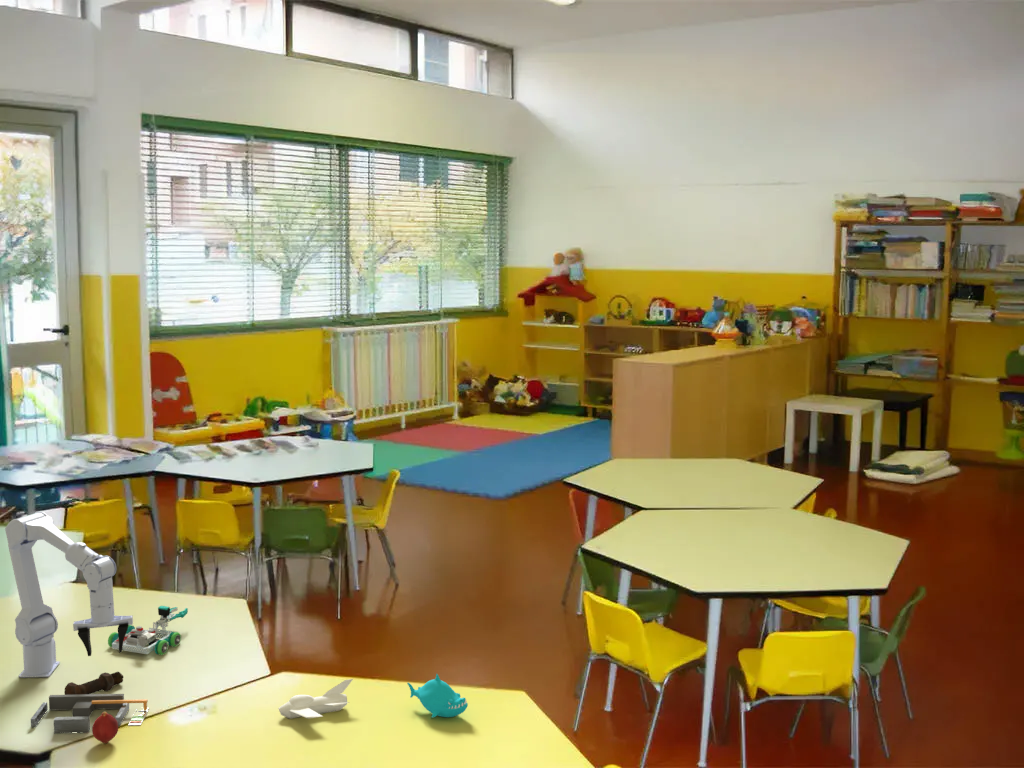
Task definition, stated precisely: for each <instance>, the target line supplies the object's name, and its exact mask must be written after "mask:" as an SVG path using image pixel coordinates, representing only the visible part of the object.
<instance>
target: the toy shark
mask: <svg viewBox="0 0 1024 768" xmlns="http://www.w3.org/2000/svg"><path fill="white" fill-rule="evenodd" d="M407 686H408V688H409V690H410V698H413V697H417V700H419V701H420V704H421V705H422V707H424V708H425V710H426V711H428V712H429V713H430V714H431V718H436V717H437V716H438V717H441V718H453V717H458V716H459V715H461V714H463V713H464V712H465V711H466V710H467V708H468V705H469V704H468V702H467V699H466V697H461V694H460V693H459V692H456V691H455V690H454V689H453V688H452V687H451V686H450V685H449V684H448V683H447V682H446V681H444V680H441V679H440V676H439V674H438V673H436V675H435V678H433V679H430V680H428V681H426V682H425V684H423V685H422V686H417V687H418V688H417V689H415V688H414V687H413V685H412V684H411V683H410V682H407Z"/></svg>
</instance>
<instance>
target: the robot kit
mask: <svg viewBox="0 0 1024 768" xmlns="http://www.w3.org/2000/svg"><path fill="white" fill-rule="evenodd" d="M188 611H189V608H187V607H185V608H184V609H183V610H181V611H178V607H177V606H175V607H172V608H171V607H170V606H165V605H160V606H158V607H157V612H158V616H160V617H159V619H158V620H156V621H153V622H152V627H149V628H148V629H144V628H143V627H142V626H141V625H138V626H136V627H135V626H134V625H133V624H132V625H129V626H128V630H127V632H126V635H125V637H124V641H123V648H122V651H125V652H131V653H137V654H144V655H149V654H150V653H151V652H153V651H154V653H155V654H156V655H159V656H163V654H164V655H166V653H167V651H168V649H169V647H172V648H176V647H178V646H179V645H180V643H181V640H182V636H181V633H180V632H178V631H176V632H174V631H171V630H167V629H166V628H167V627H169V623H170V622H171V621H174V620H176V619H179V618H181V619H182V618H183V619H184V617H185V616H186V615H187V614H188ZM174 612H178V613H174ZM159 627H160V628H159ZM107 645H108V647H110V648H111V649H113V650H119V637H118V632H117V631H114V632H112V633H110V634H109V637H108V639H107ZM147 645H148V646H147Z"/></svg>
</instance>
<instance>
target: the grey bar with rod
mask: <svg viewBox="0 0 1024 768" xmlns="http://www.w3.org/2000/svg"><path fill="white" fill-rule="evenodd" d="M123 703H129V704H143V708H144V710H147V708H148V699H144V698H143V699H125V694H124V693H92V694H78V695H65V694H50V695H49V696H48V707H49V708H48V709H49V711H66V710H67V711H71V713H72V717H80V716H90V717H91V715H92V713H93V712H94V711H95V710H120V709H121V707H122V705H123Z"/></svg>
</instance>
